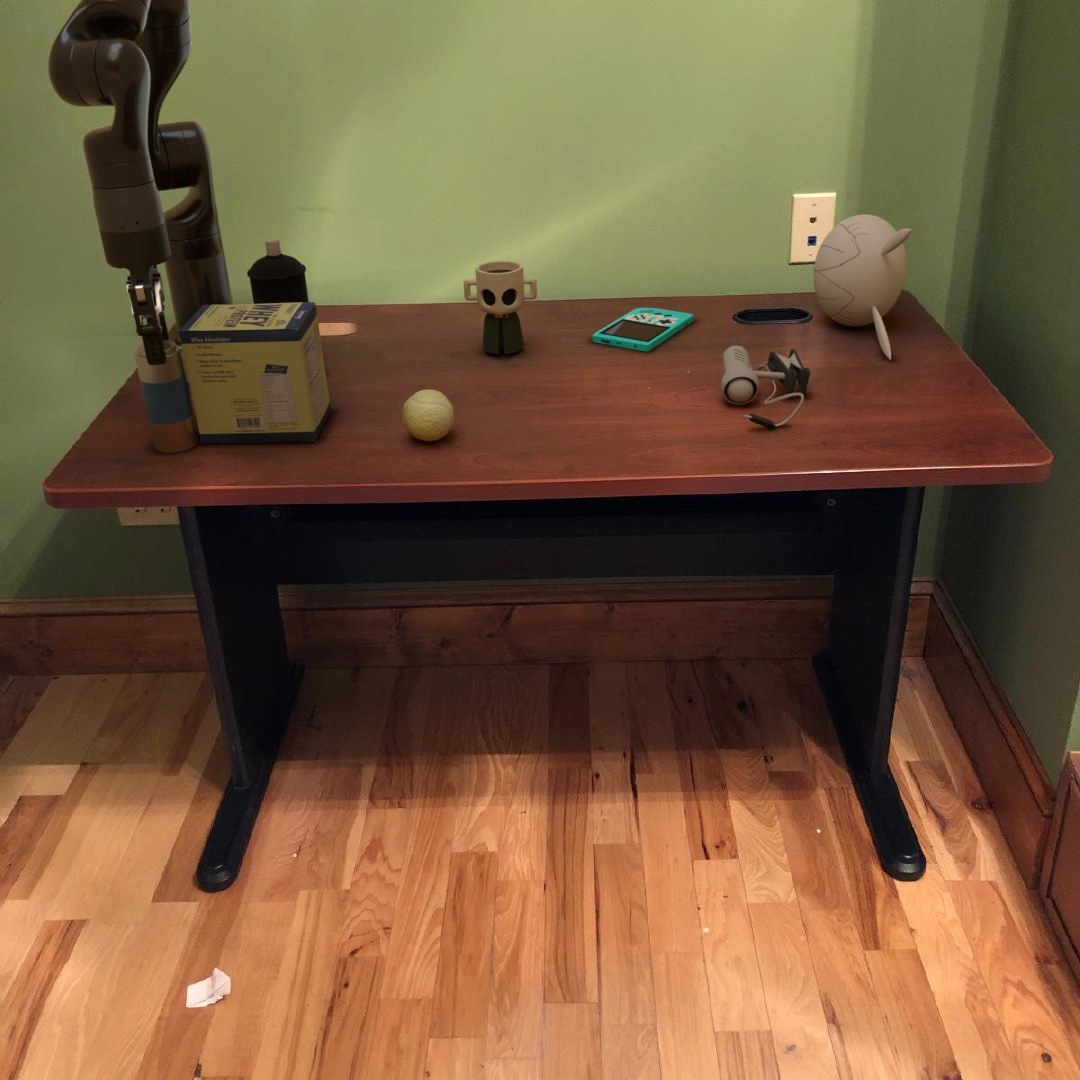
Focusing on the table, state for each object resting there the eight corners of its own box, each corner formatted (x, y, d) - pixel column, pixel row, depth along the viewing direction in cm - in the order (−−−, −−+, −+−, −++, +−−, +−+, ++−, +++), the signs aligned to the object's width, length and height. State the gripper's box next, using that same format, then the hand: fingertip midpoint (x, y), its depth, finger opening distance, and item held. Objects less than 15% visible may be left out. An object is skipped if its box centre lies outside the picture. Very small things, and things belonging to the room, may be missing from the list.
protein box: (220, 413, 157) (200, 303, 150) (332, 410, 157) (317, 300, 149) (198, 445, 148) (175, 330, 141) (317, 443, 148) (300, 327, 140)
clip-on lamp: (813, 449, 148) (796, 370, 161) (824, 410, 143) (806, 332, 157) (722, 443, 148) (713, 365, 161) (731, 403, 143) (720, 326, 157)
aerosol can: (307, 387, 165) (288, 249, 155) (254, 384, 166) (232, 247, 156) (328, 366, 172) (310, 233, 162) (277, 364, 173) (256, 232, 163)
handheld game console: (695, 321, 184) (695, 313, 183) (648, 352, 172) (648, 344, 171) (640, 312, 189) (640, 304, 188) (591, 342, 177) (591, 333, 176)
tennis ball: (460, 445, 146) (457, 396, 142) (409, 453, 144) (404, 404, 141) (450, 426, 151) (446, 378, 148) (400, 433, 149) (395, 385, 146)
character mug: (465, 359, 172) (459, 274, 166) (470, 343, 178) (464, 260, 172) (537, 358, 172) (534, 273, 165) (540, 341, 178) (537, 259, 171)
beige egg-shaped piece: (804, 207, 181) (858, 225, 158) (889, 209, 182) (954, 227, 159) (791, 326, 188) (840, 360, 165) (872, 328, 189) (932, 361, 166)
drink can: (155, 438, 151) (134, 341, 144) (198, 432, 152) (179, 336, 145) (153, 455, 146) (131, 356, 139) (198, 449, 147) (178, 351, 140)
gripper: (162, 232, 129) (189, 368, 137) (166, 205, 141) (191, 331, 149) (93, 239, 128) (124, 375, 136) (103, 211, 140) (131, 338, 148)
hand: (159, 352), depth 143 cm, fingers open, 8 cm apart
